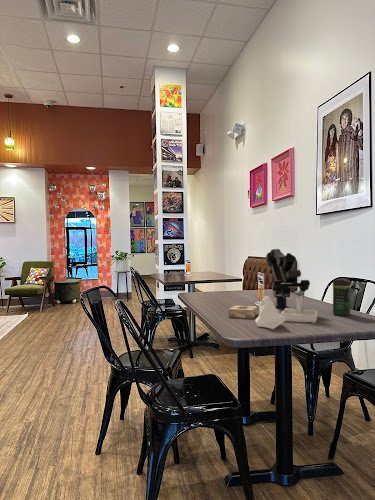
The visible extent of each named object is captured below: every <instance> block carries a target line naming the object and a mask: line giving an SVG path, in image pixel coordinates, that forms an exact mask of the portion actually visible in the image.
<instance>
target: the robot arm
mask: <svg viewBox="0 0 375 500" xmlns="http://www.w3.org/2000/svg"><path fill="white" fill-rule="evenodd" d="M296 261H297V258H296V256H295V255H293V254H292V253H291V252H290V253H289V252H287V253H286V255H285V254H284V253H283V252H282V251H281V249H280V248H273V249H271V250H270V251H269V252H268V253H266V256H265V262H266V263H267V266H268V267H270V268H271V271H272V274H273V278H274V280H273V282H272V285H271V289H272V296H273V297H274V298H275V299H276V300H275V303H276V304H275V305H276V306H274V307H275V308H276V309H285V308H288V307H289V306H288V305H287V304H288V302H287V298H290V297H291V288H299V291H304V294H303V300H304V299H305V292H306V291H308V290H309V288H310V285H311V281H310V280H309V279H301V280H300V282H297V280H298V277H299V278H300V277H301V275H302V272H301V270H300V269H296V270H293V269H294V266H295V263H296Z"/></svg>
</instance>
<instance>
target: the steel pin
mask: <svg viewBox="0 0 375 500" xmlns="http://www.w3.org/2000/svg"><path fill="white" fill-rule="evenodd" d="M303 294H304V295H305V292H304V291H300V290H295V291H294V295H295V297H294V298H295V309H296V314H304V312H303V309H304V299H303Z"/></svg>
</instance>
